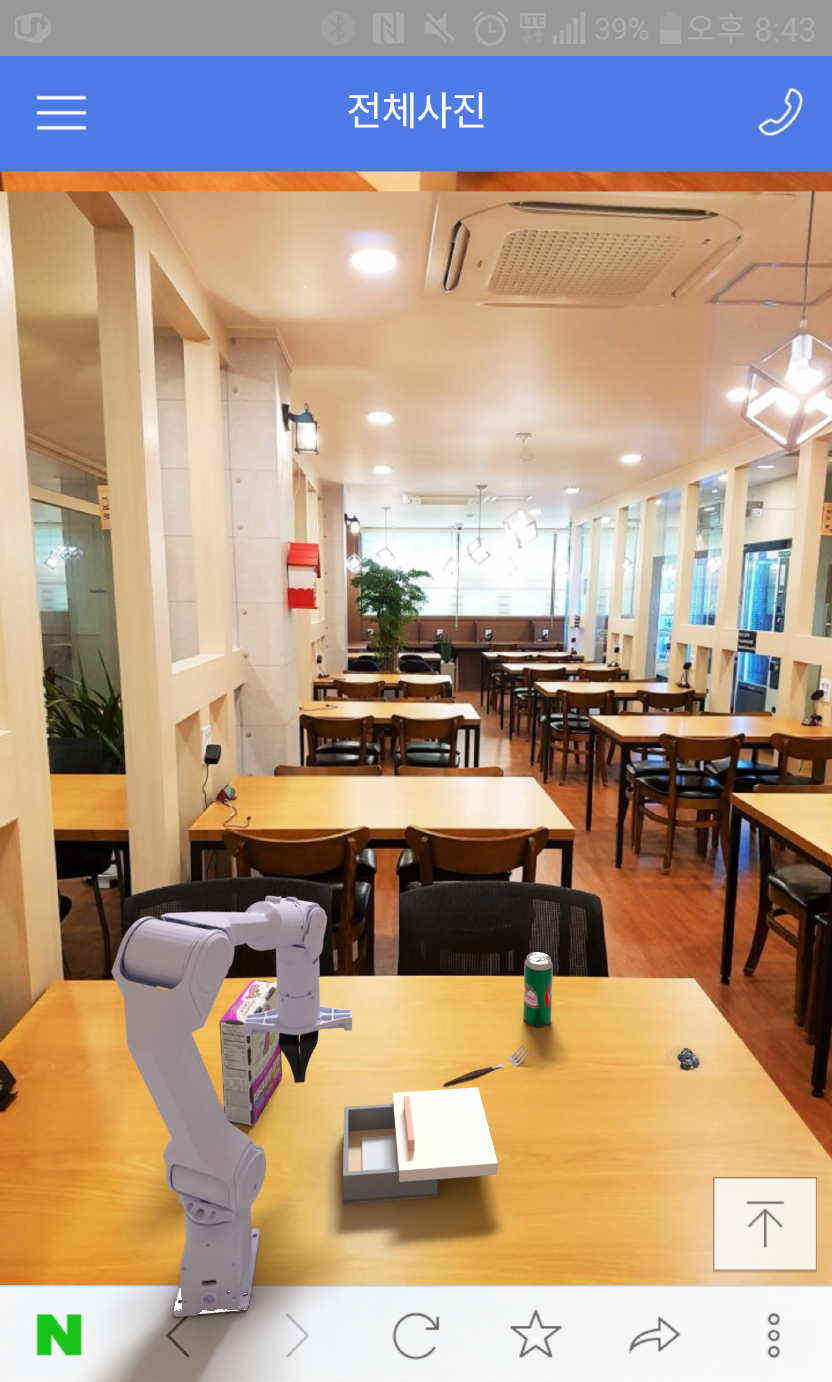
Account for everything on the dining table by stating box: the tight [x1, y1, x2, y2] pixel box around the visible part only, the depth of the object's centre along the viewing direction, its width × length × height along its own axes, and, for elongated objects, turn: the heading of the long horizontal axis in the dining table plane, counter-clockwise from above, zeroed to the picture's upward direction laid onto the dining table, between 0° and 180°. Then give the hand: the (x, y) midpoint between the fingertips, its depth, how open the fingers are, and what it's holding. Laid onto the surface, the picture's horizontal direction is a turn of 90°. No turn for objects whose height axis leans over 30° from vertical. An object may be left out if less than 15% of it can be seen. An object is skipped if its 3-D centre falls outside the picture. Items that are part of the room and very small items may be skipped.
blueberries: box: [666, 1047, 701, 1072], centre depth 115 cm, size 7×8×2 cm
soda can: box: [522, 952, 554, 1027], centre depth 125 cm, size 5×5×12 cm
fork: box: [442, 1044, 531, 1087], centre depth 111 cm, size 3×16×2 cm, turn 116°
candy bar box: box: [219, 979, 283, 1127], centre depth 104 cm, size 11×5×16 cm, turn 168°
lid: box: [392, 1087, 499, 1182], centre depth 93 cm, size 14×13×3 cm
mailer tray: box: [342, 1103, 438, 1205], centre depth 93 cm, size 12×12×4 cm
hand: (300, 1077), depth 95 cm, fingers closed
